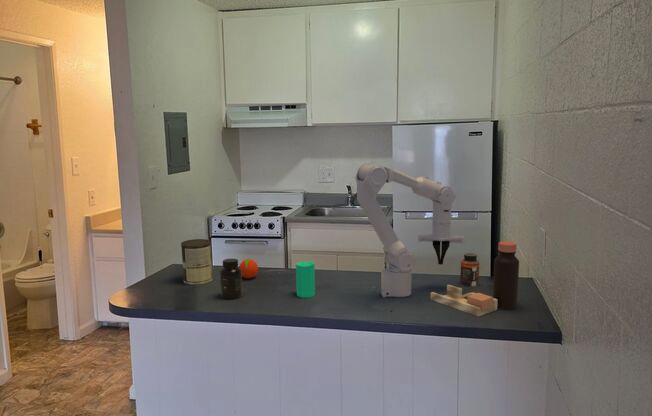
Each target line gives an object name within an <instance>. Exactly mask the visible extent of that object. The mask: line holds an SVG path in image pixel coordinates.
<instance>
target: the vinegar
mask: <svg viewBox="0 0 652 416" xmlns="http://www.w3.org/2000/svg"><path fill="white" fill-rule="evenodd" d="M497 248H498V249H497V250H498V255H497V256H496V257H495V258H494V259H493V284H492V285H493V286H492V287H493V288H492V297H493V298H494V299H498V301H497V309H500V310H504V311H505V310H506V311H510V310H511V311H512V310H515V309H517V308H518V295H519V294H518V293H519V274H520V261H519V258H518V257H517V256H515V255H516V253H517V243H516V242H513V241H505V240H504V241H500V242H498V247H497Z"/></svg>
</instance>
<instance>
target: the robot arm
mask: <svg viewBox="0 0 652 416" xmlns="http://www.w3.org/2000/svg"><path fill="white" fill-rule="evenodd" d="M354 178H355V182H356V200H357V202H358V204H359V206H360V207H361V209H362V211H363V213H364V214H365V215H366V218H367V219H368V221H369V223H370V224H371V227H372V228H373V230H374V231H375V233H376V235H377V237H378V239H379V240H380V242H381V244H382V251H384V259H385V261H386V263H387V264H388V265H387V266H388V268H385V269H381V272H380V277H381V280H380V282H381V283H380V284H381V285H380V294H381V296H382V298H387V297H394V298H395V297H396V298H397V297H398V298H403V297H409V296H411V295H412V270H413V268H414V267H415V265H416V258H415V255H414V254H413V253H412V252H411V251H409V250H408V249H407V247H406V245H404V244H403V243H402V242H401V241H400V239H399V237H398V236H397V234H396V232H395V230H394V229H393V226H392V225H391V223H390V221H389V220H388V217H387V216H386V214H385V212H384V210H383V209H382V207H381V205H380V204H379V201H378V200H377V197H378V194H379V192H380V190H381V189H382V188H383V186H384V185H385V184H386V183H387V184H390V183H392V182H394V183H397V184H400V185H402V186H405V187H408V188H411V190H412V192H413V194H415V195H417V196H420V197H423V198H426V199H428V200H429V201H431V202H432V219H431V221H432V223H431V224H432V225H431V226H432V227H431V228H432V229H431V233H430V234H429V233H428V234H418V235H417V241H418V243H419V242H420V243H422V242H426V243H427V242H430V243H431V242H432V247H433V248H434V251H435V254H436V257H437V258H436V259H437V265H443V264H444V259H445V256H446V254H447V251H448V249H449V248H450V243H460V244H465V240H466V239H465V238H466V237H465V236H464V235H456V234H451V223H452V215H451V214H452V207H453V203H454V201H455V199H456V194H455V192H454V190H453V189H452V187H450V186H447V185H443V184H442V183H441V181H433V180H432V179H430V177H429V176H427V175H423V176H418V177H416V178H415V177H413V176H411V175H408V174H406V173H403V172H401V171H400V170H396V169H395V168H391V167H386V166H382V165H381V164H380V165H379V164H378V165H377V164H376V165H375V164H371V163H363V164H362V165H360V166H359V167H358V169H357V171H356V174H355V177H354Z"/></svg>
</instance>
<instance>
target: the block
mask: <svg viewBox="0 0 652 416" xmlns="http://www.w3.org/2000/svg"><path fill="white" fill-rule="evenodd" d="M475 293H476V292H475ZM466 298H467V304H470V305H473V306H476V307H479V308H481V310H482V309H485V308H487V307H490V306H493V296H491V295H487V294H483V293H481V292H477V293H476V294H473V295H470V296H467V297H466Z"/></svg>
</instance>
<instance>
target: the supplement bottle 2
mask: <svg viewBox="0 0 652 416" xmlns="http://www.w3.org/2000/svg"><path fill="white" fill-rule="evenodd" d="M477 257H478V255H477V254H476V253H474V252H472V253H471V252H467V253H466V252H465V253H464V254H463V259H461V261H460V274H459V275H460V277H459V279H460V280H459V283H460V285H462V286H465V287H477V286H479V282H480V280H479V279H480V262H479V260H477Z"/></svg>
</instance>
